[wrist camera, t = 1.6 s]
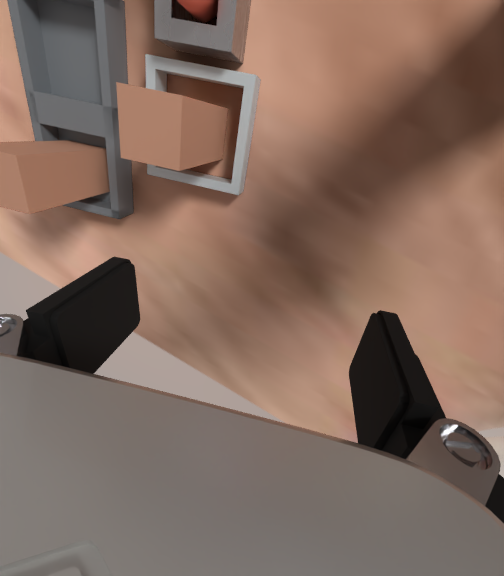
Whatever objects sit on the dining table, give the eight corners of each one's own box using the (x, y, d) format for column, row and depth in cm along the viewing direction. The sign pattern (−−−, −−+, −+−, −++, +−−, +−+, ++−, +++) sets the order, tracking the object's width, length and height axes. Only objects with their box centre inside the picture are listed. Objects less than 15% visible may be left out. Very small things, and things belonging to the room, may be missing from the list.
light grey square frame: (158, 59, 29) (145, 53, 27) (260, 79, 28) (256, 75, 26) (157, 171, 34) (147, 174, 32) (243, 191, 34) (238, 195, 31)
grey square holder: (179, -50, 25) (154, -84, 21) (255, -39, 24) (244, -71, 20) (176, 50, 28) (154, 37, 24) (243, 63, 28) (231, 52, 24)
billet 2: (184, 99, 30) (116, 82, 20) (228, 108, 30) (182, 95, 19) (181, 150, 33) (120, 157, 22) (222, 159, 32) (179, 170, 22)
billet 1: (69, 140, 34) (-37, 143, 24) (107, 148, 34) (15, 155, 23) (76, 182, 36) (-19, 202, 26) (111, 191, 36) (29, 214, 26)
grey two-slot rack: (32, -15, 28) (1, -31, 25) (124, 1, 27) (102, -14, 24) (66, 196, 39) (47, 201, 36) (133, 212, 38) (119, 219, 35)
